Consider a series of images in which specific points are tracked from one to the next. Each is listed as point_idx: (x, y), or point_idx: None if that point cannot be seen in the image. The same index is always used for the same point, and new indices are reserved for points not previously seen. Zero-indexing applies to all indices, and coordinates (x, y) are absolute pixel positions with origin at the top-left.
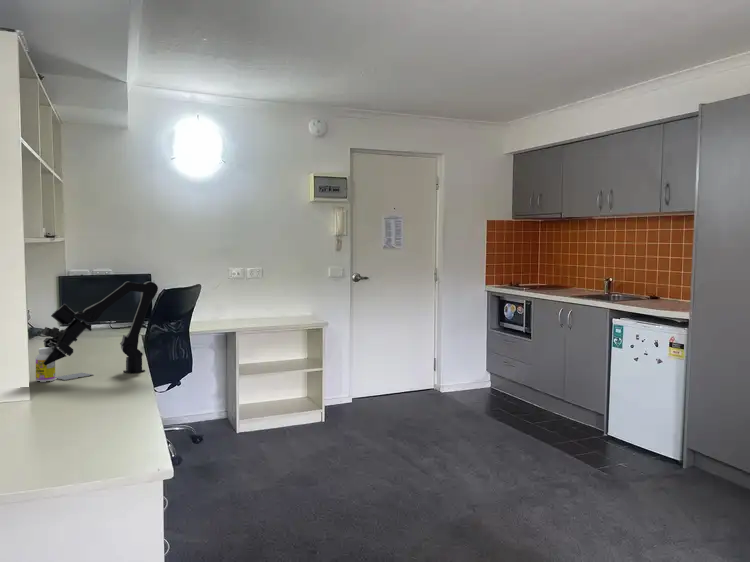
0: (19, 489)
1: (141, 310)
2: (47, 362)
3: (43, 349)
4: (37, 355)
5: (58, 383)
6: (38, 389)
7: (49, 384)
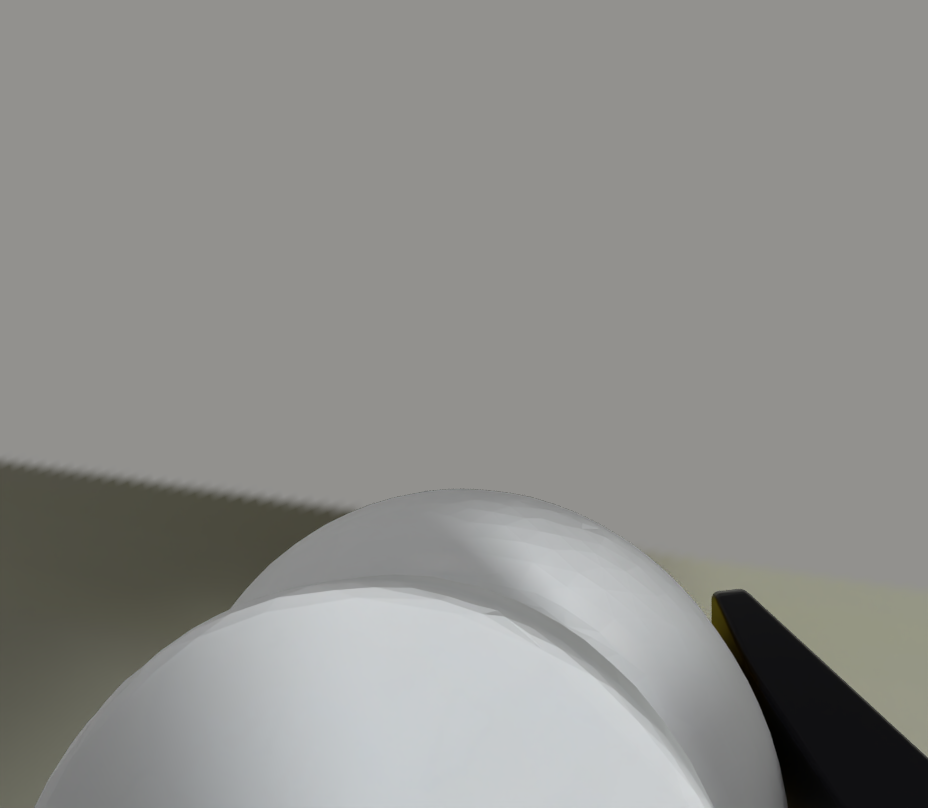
0: None
1: None
2: None
3: (45, 794)
4: (485, 541)
5: None
6: (2, 484)
7: None
